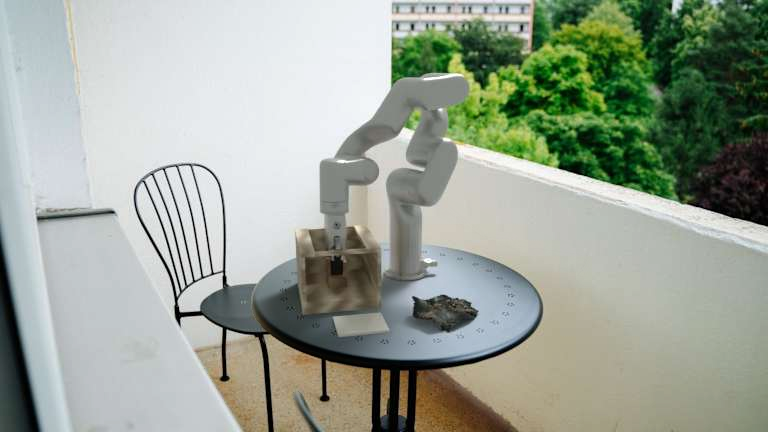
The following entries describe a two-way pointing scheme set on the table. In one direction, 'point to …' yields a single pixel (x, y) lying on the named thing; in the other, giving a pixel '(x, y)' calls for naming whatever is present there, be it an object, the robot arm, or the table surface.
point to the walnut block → (336, 280)
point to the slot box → (360, 271)
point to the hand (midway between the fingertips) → (334, 268)
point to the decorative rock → (443, 310)
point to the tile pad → (360, 324)
